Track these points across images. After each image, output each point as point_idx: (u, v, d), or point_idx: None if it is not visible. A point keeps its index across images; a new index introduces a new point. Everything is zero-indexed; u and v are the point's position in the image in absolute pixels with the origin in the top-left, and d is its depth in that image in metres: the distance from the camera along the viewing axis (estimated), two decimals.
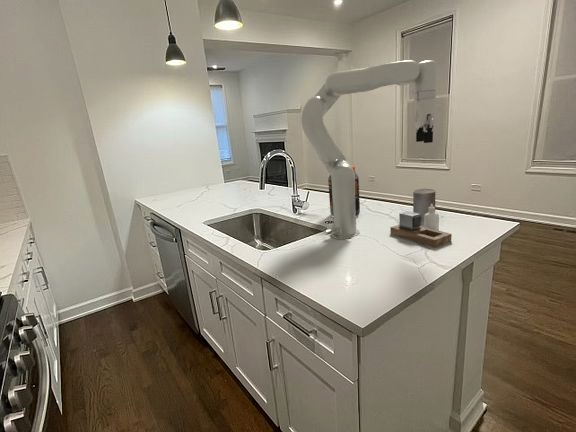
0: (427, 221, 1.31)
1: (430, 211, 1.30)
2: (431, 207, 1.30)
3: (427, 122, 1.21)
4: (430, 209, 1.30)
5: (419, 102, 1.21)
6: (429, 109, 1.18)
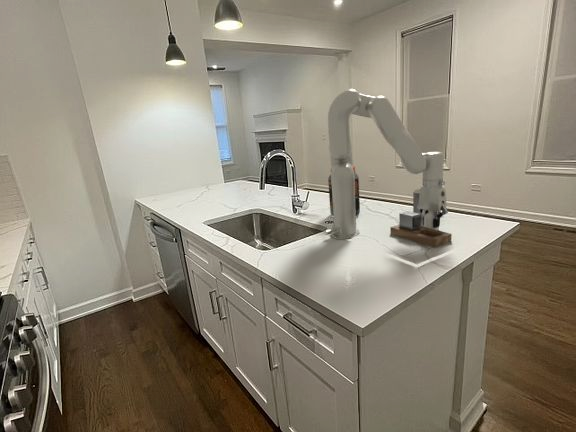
0: (427, 221, 1.31)
1: (430, 211, 1.30)
2: None
3: None
4: None
5: None
6: None
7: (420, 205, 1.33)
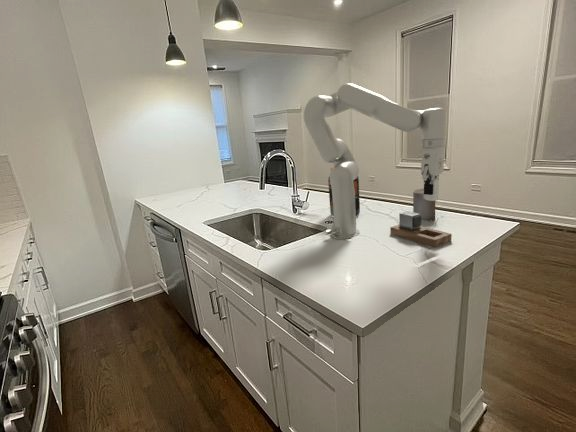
0: None
1: (428, 175, 1.19)
2: None
3: None
4: None
5: (441, 148, 1.15)
6: None
7: None
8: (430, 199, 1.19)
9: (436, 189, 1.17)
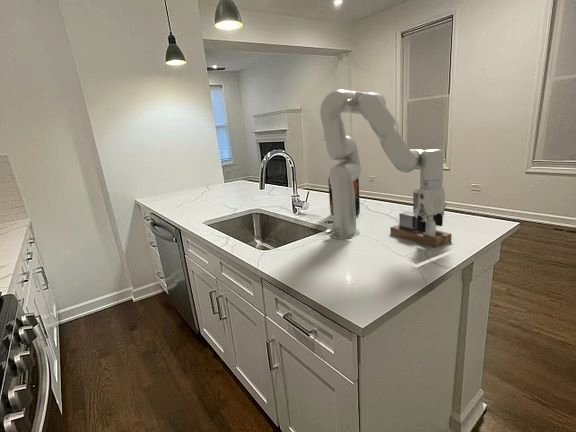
0: None
1: None
2: None
3: None
4: None
5: (440, 188, 1.15)
6: None
7: None
8: None
9: (432, 232, 1.18)
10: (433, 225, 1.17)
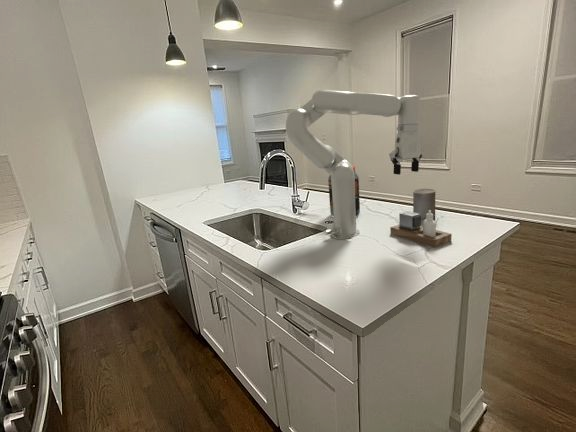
0: (423, 226, 1.22)
1: None
2: (427, 213, 1.19)
3: None
4: None
5: (416, 134, 1.23)
6: None
7: None
8: None
9: (433, 232, 1.18)
10: (433, 225, 1.17)
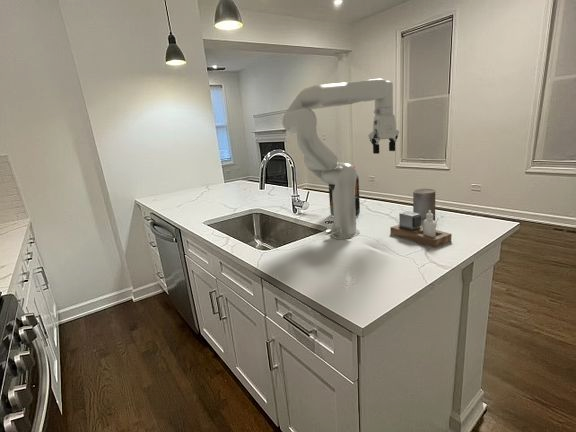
0: (423, 226, 1.22)
1: None
2: (427, 213, 1.19)
3: None
4: None
5: (391, 116, 1.36)
6: None
7: None
8: None
9: (433, 232, 1.18)
10: (433, 225, 1.17)
